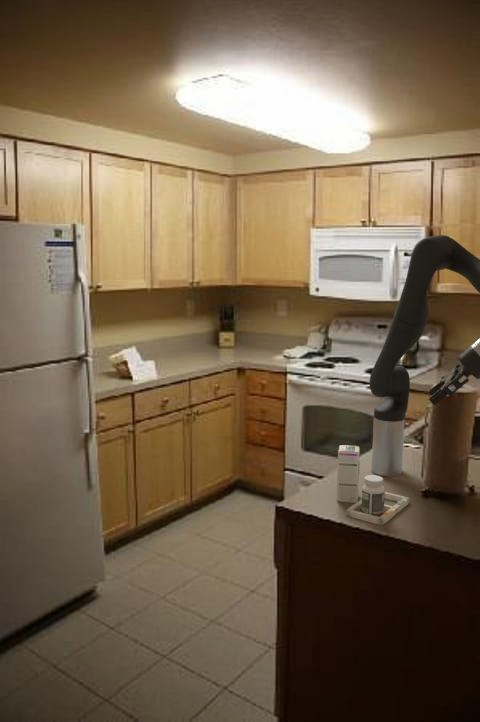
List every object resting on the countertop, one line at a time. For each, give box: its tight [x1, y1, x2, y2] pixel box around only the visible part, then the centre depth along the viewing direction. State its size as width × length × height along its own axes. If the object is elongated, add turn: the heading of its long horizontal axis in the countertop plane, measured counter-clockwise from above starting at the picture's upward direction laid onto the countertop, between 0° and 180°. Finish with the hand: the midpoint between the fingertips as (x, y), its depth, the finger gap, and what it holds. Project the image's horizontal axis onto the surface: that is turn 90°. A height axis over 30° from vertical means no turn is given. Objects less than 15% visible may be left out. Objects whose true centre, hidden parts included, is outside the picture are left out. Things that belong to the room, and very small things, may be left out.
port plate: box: [345, 491, 410, 526], centre depth 166 cm, size 18×10×2 cm, turn 144°
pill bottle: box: [360, 474, 386, 517], centre depth 162 cm, size 6×6×10 cm
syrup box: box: [336, 444, 361, 504], centre depth 172 cm, size 6×6×14 cm
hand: (431, 398), depth 159 cm, fingers open, 8 cm apart
